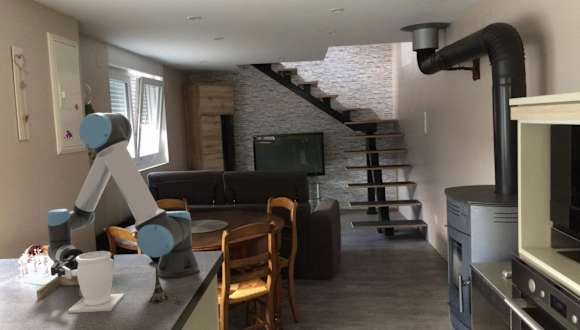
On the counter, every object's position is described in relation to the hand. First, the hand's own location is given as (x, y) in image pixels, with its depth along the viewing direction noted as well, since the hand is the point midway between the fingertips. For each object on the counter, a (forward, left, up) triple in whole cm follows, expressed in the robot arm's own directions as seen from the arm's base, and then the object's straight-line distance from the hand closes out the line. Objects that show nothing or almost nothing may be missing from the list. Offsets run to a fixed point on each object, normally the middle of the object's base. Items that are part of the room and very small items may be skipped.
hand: (92, 269), depth 161 cm
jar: (-1, 0, -10) cm, 11 cm away
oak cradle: (+14, -13, -11) cm, 22 cm away
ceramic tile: (-1, +1, -11) cm, 11 cm away
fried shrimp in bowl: (-10, -50, -11) cm, 52 cm away
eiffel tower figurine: (-21, 0, -12) cm, 24 cm away
